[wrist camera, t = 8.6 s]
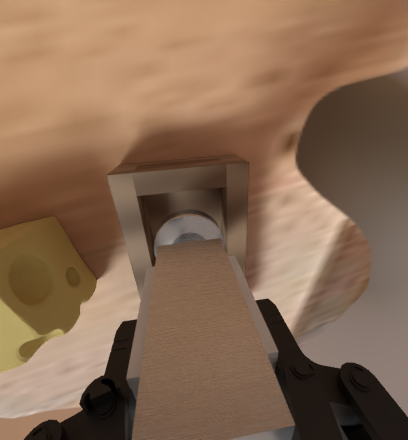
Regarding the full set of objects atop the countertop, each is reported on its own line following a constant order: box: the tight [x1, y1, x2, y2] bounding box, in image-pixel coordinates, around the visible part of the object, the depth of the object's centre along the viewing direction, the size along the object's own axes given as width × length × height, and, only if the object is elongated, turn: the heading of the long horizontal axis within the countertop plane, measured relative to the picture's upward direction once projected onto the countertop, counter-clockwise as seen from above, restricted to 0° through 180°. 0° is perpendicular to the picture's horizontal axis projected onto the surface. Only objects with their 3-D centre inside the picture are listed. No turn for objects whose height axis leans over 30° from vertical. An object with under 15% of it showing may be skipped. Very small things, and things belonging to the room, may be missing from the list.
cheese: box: [0, 216, 97, 373], centre depth 20 cm, size 10×11×10 cm
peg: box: [132, 209, 295, 440], centre depth 13 cm, size 6×6×14 cm
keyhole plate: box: [107, 155, 249, 299], centre depth 24 cm, size 22×12×4 cm, turn 4°
